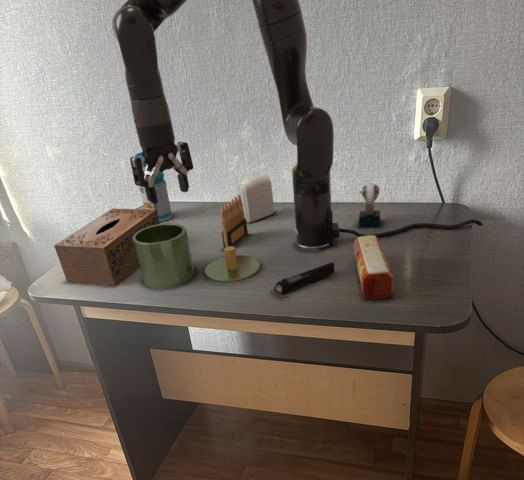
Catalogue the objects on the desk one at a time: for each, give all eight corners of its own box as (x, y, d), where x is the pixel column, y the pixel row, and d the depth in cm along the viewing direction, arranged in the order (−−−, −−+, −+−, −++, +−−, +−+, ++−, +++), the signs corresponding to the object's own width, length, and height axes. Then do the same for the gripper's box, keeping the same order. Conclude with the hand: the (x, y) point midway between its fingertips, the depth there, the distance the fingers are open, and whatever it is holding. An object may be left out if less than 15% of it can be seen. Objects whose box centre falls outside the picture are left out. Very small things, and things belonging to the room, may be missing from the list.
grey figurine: (380, 218, 144) (381, 179, 138) (379, 229, 138) (380, 189, 132) (359, 219, 146) (360, 180, 139) (358, 230, 139) (358, 189, 133)
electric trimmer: (338, 277, 118) (338, 264, 117) (282, 298, 112) (281, 285, 111) (328, 271, 121) (328, 259, 119) (273, 292, 115) (272, 279, 113)
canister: (196, 264, 132) (188, 221, 125) (191, 286, 121) (181, 241, 115) (149, 268, 133) (138, 226, 126) (139, 291, 122) (127, 246, 116)
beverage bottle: (170, 221, 160) (156, 155, 149) (144, 224, 161) (128, 158, 149) (174, 212, 167) (161, 148, 156) (149, 214, 168) (134, 151, 156)
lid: (260, 257, 131) (258, 234, 128) (260, 281, 120) (257, 257, 117) (208, 262, 132) (204, 239, 129) (202, 286, 121) (198, 263, 117)
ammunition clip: (229, 250, 137) (223, 206, 130) (223, 250, 137) (217, 206, 131) (248, 235, 144) (243, 193, 138) (242, 234, 145) (237, 192, 138)
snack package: (352, 259, 125) (352, 232, 121) (380, 257, 124) (380, 230, 120) (361, 302, 107) (361, 272, 104) (393, 300, 107) (394, 270, 103)
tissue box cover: (121, 241, 150) (112, 208, 145) (164, 243, 146) (156, 209, 140) (67, 282, 131) (54, 245, 125) (114, 285, 126) (103, 248, 120)
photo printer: (249, 224, 152) (244, 182, 145) (241, 220, 154) (235, 179, 148) (276, 214, 156) (272, 172, 149) (267, 211, 159) (264, 170, 152)
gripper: (133, 130, 101) (153, 210, 110) (190, 113, 108) (204, 190, 117) (114, 127, 105) (134, 204, 115) (169, 112, 113) (184, 185, 122)
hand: (169, 197), depth 116 cm, fingers open, 8 cm apart
